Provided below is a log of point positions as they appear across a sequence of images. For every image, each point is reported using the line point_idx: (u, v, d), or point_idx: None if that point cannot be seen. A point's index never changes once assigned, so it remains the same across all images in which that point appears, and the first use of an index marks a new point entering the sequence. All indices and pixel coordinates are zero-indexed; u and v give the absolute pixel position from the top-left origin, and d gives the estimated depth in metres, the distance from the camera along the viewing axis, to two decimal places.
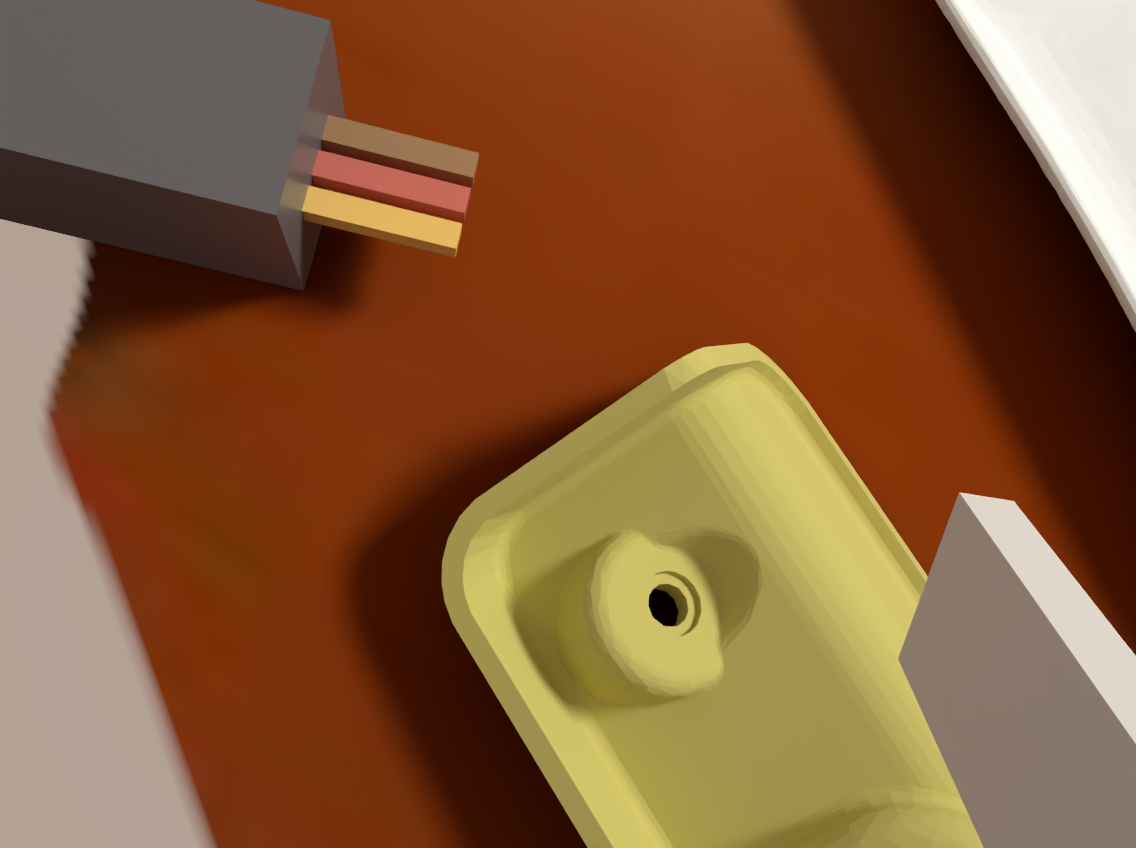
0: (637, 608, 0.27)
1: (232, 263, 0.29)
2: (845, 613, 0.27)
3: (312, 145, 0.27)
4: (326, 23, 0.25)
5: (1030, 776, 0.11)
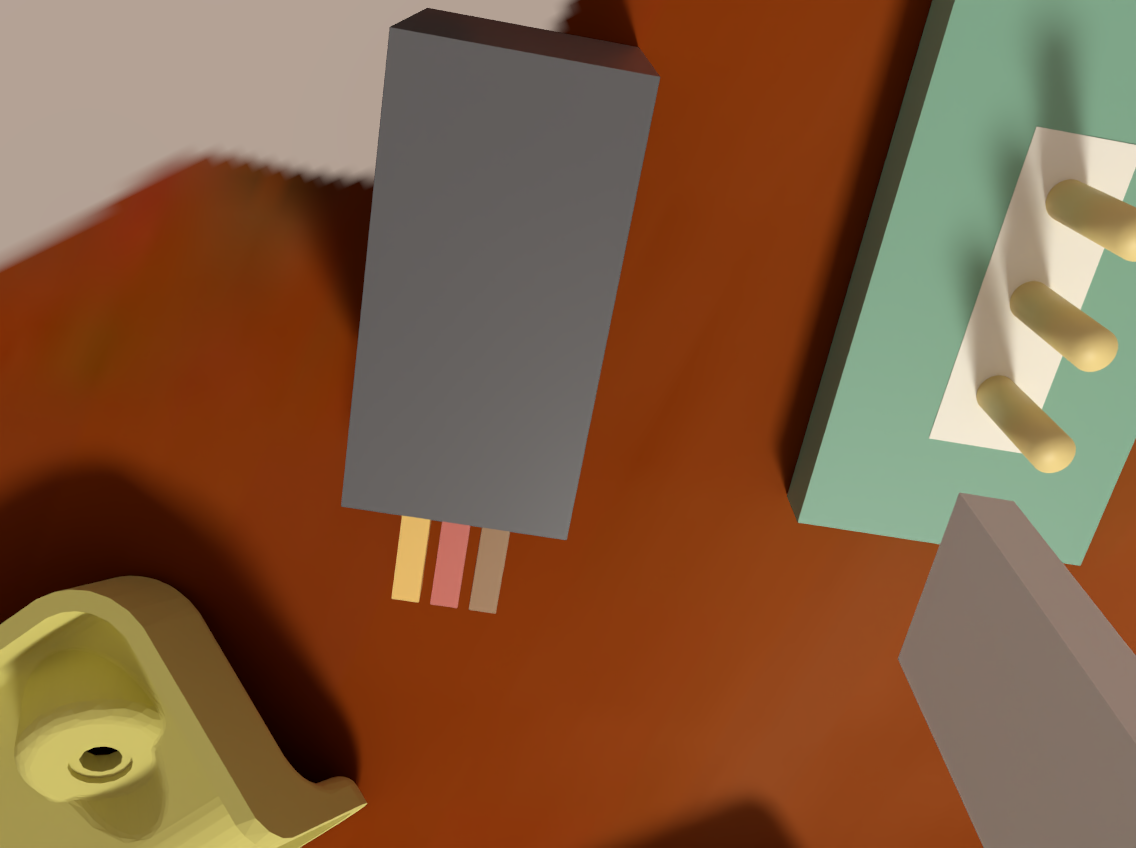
0: (85, 744, 0.30)
1: None
2: None
3: None
4: (561, 537, 0.24)
5: (1030, 776, 0.11)
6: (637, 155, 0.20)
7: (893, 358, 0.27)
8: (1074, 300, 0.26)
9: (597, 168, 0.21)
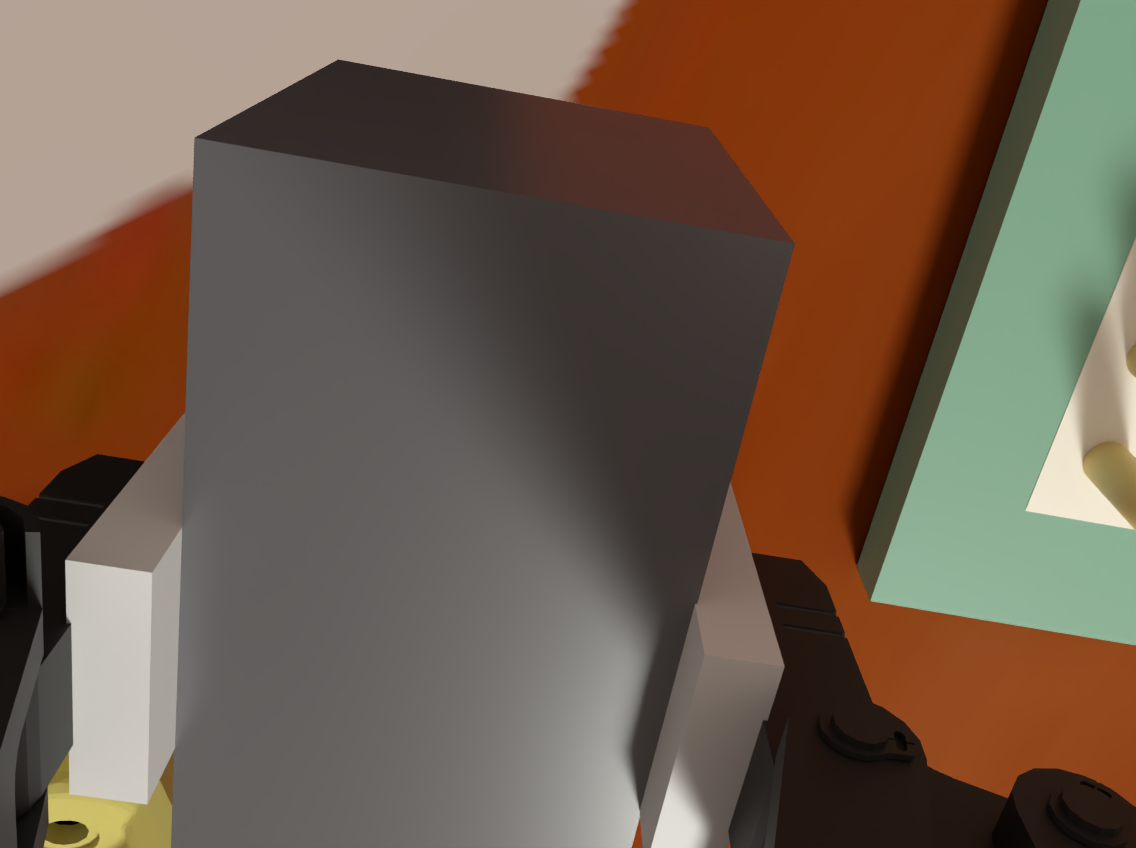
0: None
1: None
2: None
3: None
4: None
5: None
6: (738, 400, 0.10)
7: (987, 420, 0.23)
8: None
9: (652, 424, 0.10)
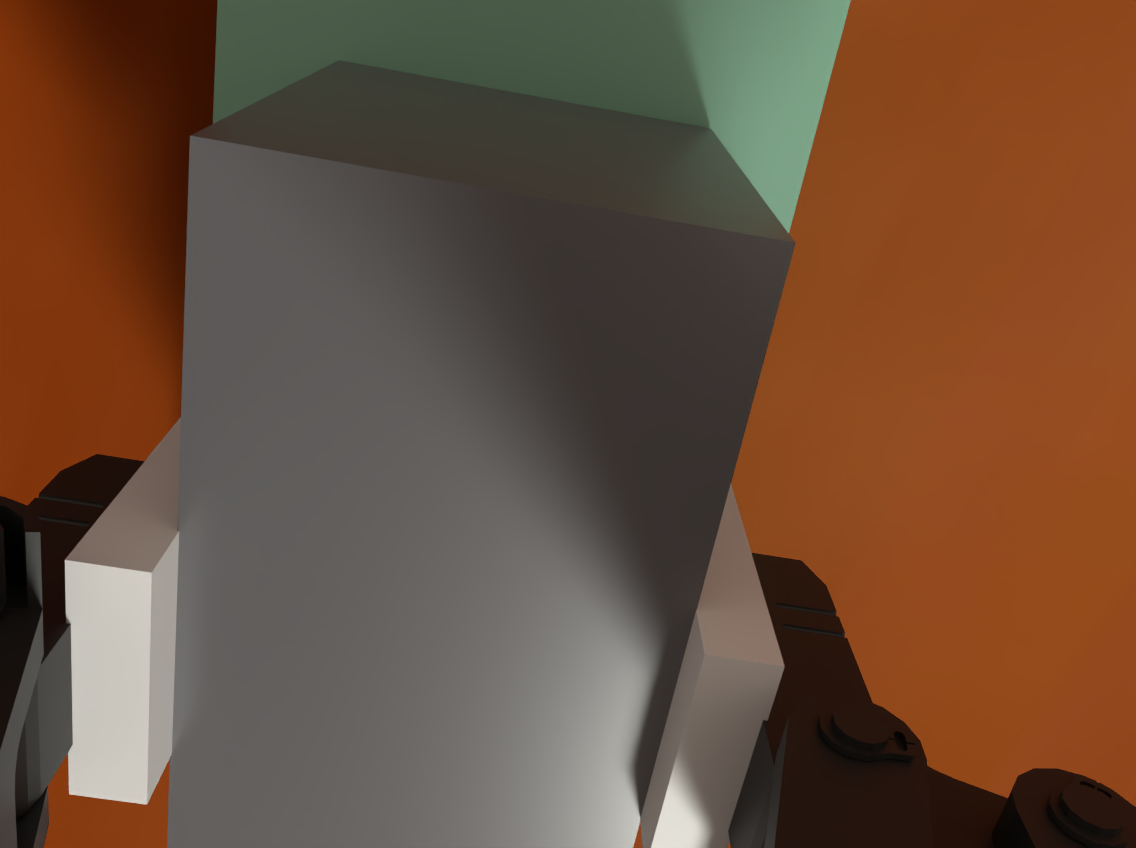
0: None
1: None
2: None
3: None
4: None
5: None
6: (738, 401, 0.10)
7: None
8: None
9: (651, 425, 0.10)
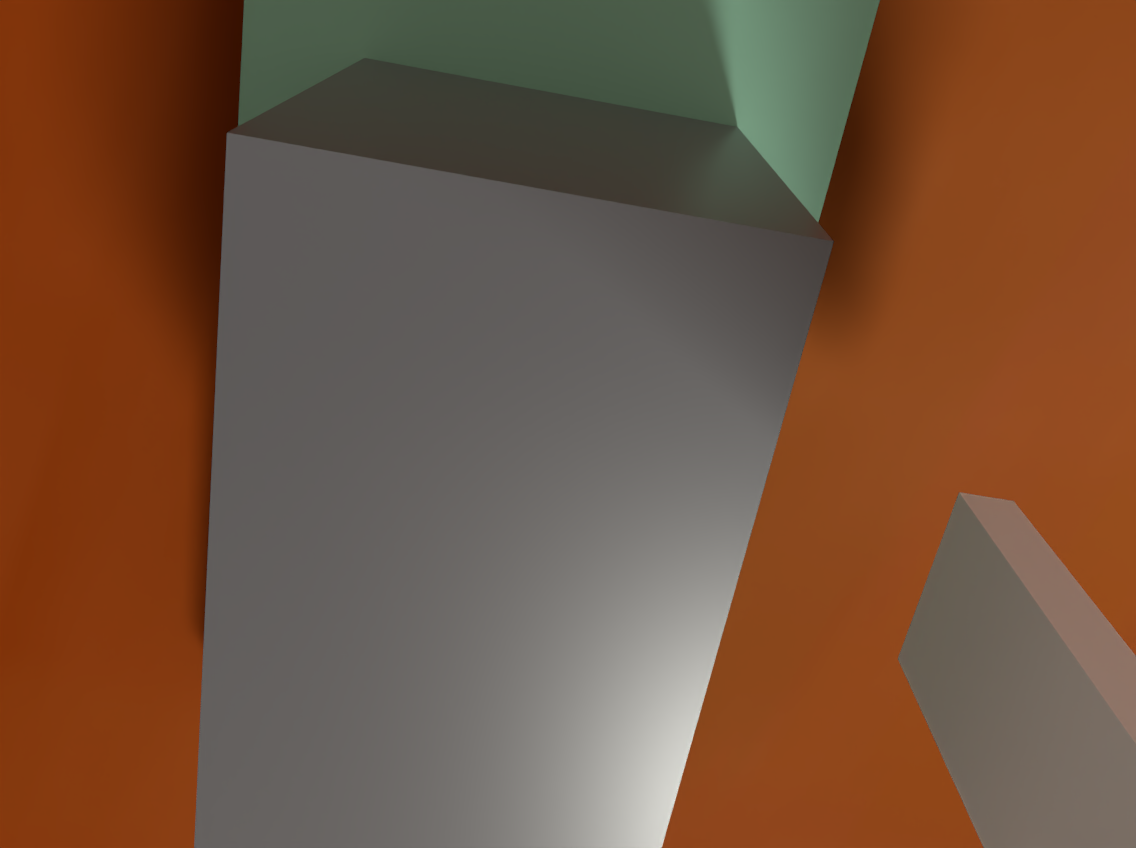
0: None
1: None
2: None
3: None
4: None
5: (1030, 776, 0.11)
6: (774, 401, 0.09)
7: None
8: None
9: (686, 425, 0.10)
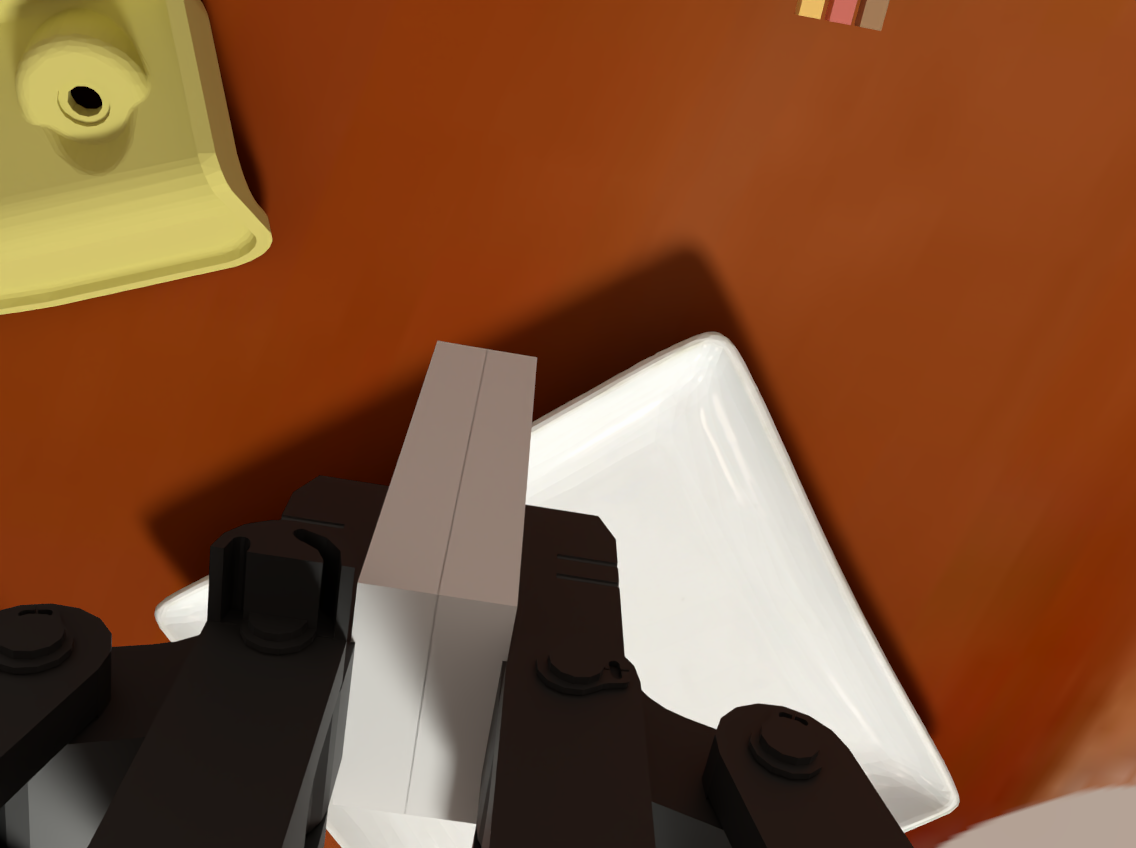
0: (82, 76, 0.37)
1: None
2: (41, 220, 0.38)
3: None
4: None
5: None
6: None
7: None
8: None
9: None
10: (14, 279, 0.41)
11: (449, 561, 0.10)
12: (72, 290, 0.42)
